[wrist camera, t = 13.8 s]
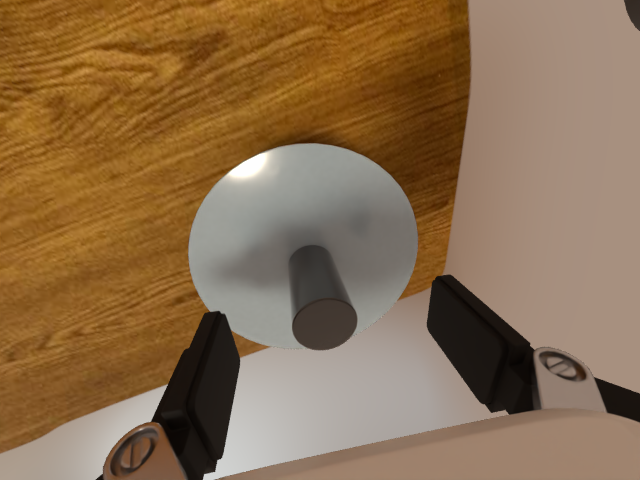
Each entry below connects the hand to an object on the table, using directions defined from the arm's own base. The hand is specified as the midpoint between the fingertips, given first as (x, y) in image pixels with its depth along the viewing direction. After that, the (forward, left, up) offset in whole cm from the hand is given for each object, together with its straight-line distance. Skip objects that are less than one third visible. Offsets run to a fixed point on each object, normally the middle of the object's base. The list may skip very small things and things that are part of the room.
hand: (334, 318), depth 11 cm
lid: (0, 0, -6) cm, 6 cm away
